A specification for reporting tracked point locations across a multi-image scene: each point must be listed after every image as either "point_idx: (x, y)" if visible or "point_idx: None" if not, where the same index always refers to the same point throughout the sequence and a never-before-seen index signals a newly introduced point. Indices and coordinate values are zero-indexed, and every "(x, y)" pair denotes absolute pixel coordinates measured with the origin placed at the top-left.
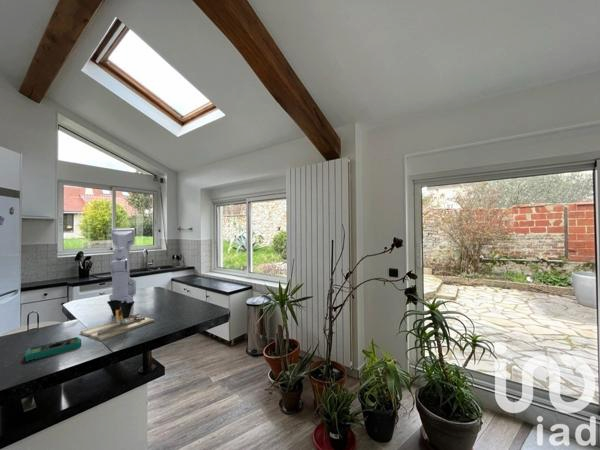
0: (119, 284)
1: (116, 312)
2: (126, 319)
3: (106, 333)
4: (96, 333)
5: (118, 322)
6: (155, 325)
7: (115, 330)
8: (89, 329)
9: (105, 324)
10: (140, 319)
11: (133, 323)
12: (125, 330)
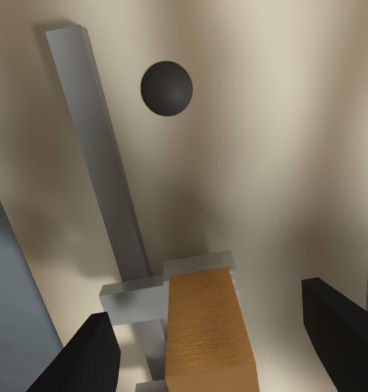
0: None
1: (227, 332)
2: (294, 324)
3: (36, 100)
4: (125, 29)
5: (280, 265)
6: (7, 389)
7: (63, 183)
8: (345, 16)
9: (342, 177)
10: (155, 380)
11: (130, 324)
12: (24, 239)
